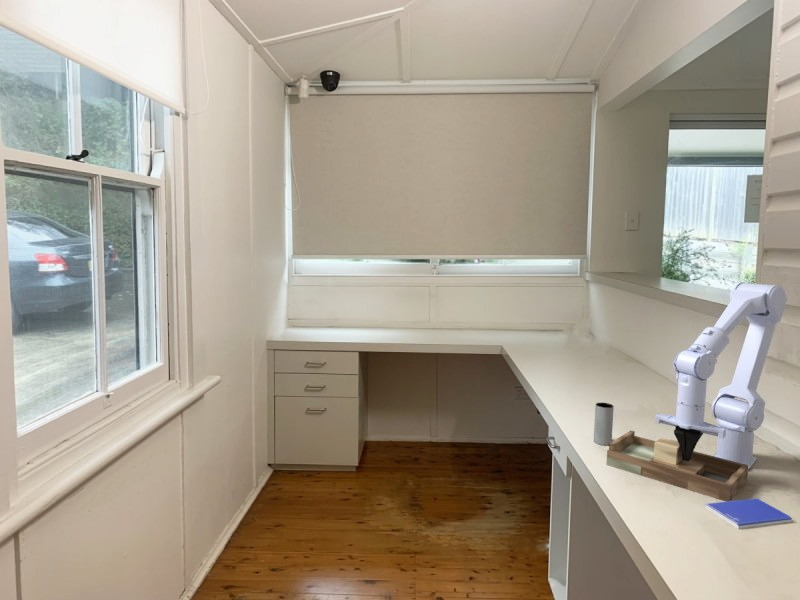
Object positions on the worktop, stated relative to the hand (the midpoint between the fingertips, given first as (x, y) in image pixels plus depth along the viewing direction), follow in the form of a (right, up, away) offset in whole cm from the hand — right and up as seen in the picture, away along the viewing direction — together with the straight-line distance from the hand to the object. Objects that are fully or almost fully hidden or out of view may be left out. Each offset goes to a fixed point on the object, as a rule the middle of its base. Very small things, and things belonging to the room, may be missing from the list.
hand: (686, 459), depth 125 cm
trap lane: (-3, -3, 0) cm, 4 cm away
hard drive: (+2, -6, -19) cm, 20 cm away
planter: (-13, -1, +18) cm, 22 cm away
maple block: (-3, -1, +3) cm, 4 cm away
